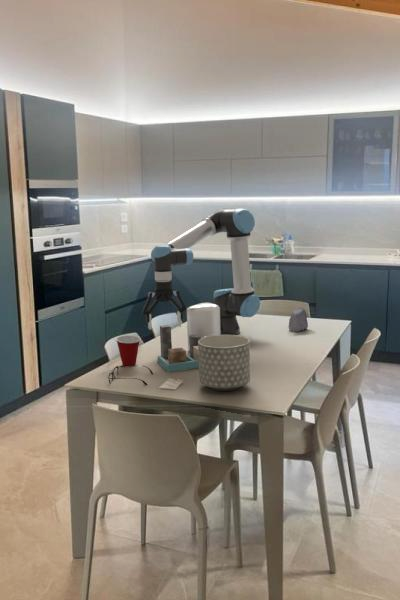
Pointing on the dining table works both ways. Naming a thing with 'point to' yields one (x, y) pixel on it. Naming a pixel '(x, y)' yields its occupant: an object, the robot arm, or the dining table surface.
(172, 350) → the block
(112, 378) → the eyeglasses
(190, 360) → the teal tray
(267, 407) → the dining table surface
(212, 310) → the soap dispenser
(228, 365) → the planter
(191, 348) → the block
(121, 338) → the plastic cup
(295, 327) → the stone
